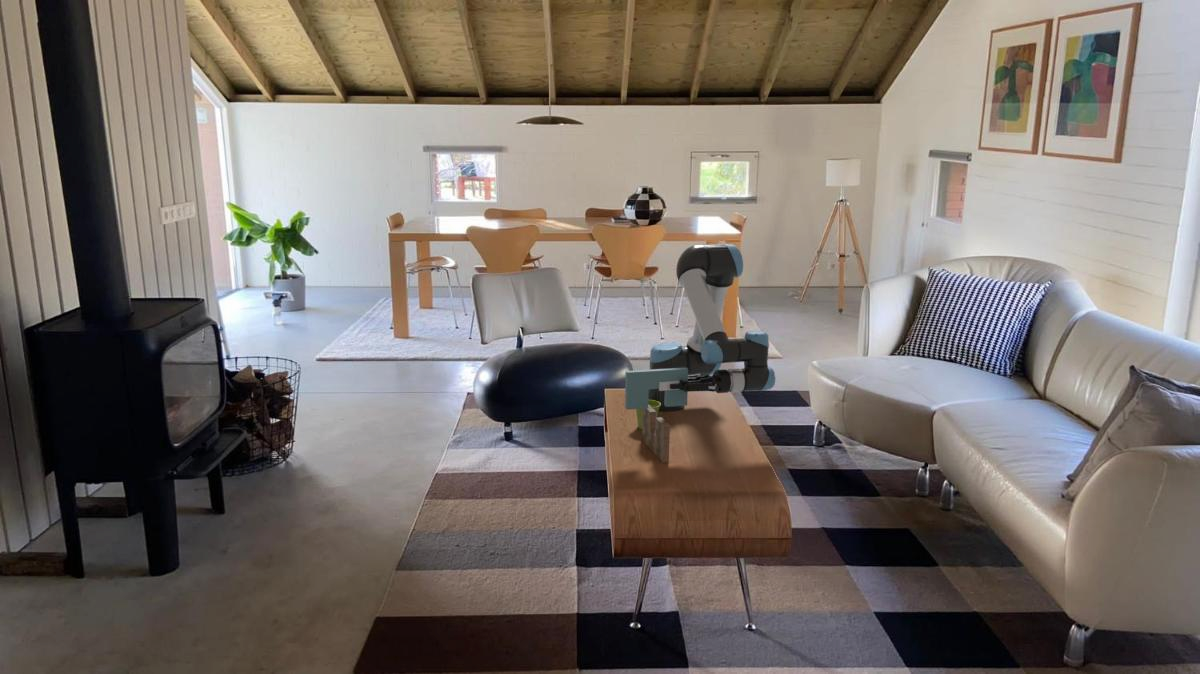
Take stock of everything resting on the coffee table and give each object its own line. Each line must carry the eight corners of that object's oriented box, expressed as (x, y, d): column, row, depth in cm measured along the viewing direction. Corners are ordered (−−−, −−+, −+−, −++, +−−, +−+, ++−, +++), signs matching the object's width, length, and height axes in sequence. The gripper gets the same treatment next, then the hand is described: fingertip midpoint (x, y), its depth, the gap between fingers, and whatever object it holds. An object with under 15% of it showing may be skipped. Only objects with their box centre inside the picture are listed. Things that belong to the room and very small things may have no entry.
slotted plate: (625, 407, 265) (625, 371, 263) (685, 403, 270) (686, 367, 268) (626, 409, 263) (627, 372, 261) (687, 405, 268) (688, 369, 266)
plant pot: (640, 433, 286) (641, 408, 284) (628, 424, 294) (629, 401, 292) (665, 429, 290) (665, 405, 288) (652, 421, 298) (652, 398, 296)
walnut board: (642, 438, 280) (642, 404, 278) (647, 438, 281) (648, 404, 278) (662, 462, 260) (663, 425, 257) (668, 462, 260) (669, 425, 257)
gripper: (736, 398, 265) (665, 403, 259) (718, 385, 279) (650, 390, 273) (737, 375, 263) (665, 380, 257) (719, 364, 277) (651, 367, 272)
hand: (658, 385), depth 265 cm, fingers closed on slotted plate, 2 cm apart
